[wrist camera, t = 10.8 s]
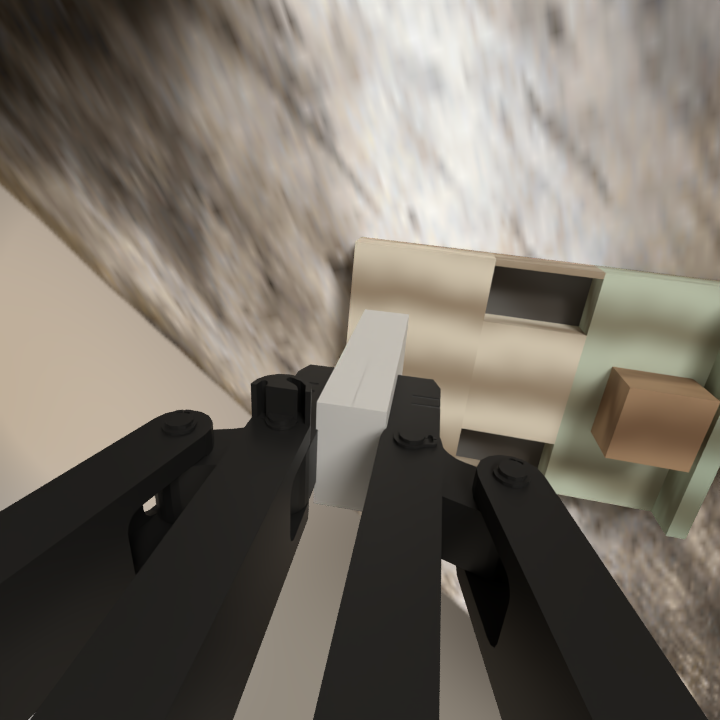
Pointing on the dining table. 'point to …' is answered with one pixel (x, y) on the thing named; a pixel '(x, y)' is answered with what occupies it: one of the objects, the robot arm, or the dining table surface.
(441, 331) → the trap board
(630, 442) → the walnut block
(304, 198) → the dining table surface
